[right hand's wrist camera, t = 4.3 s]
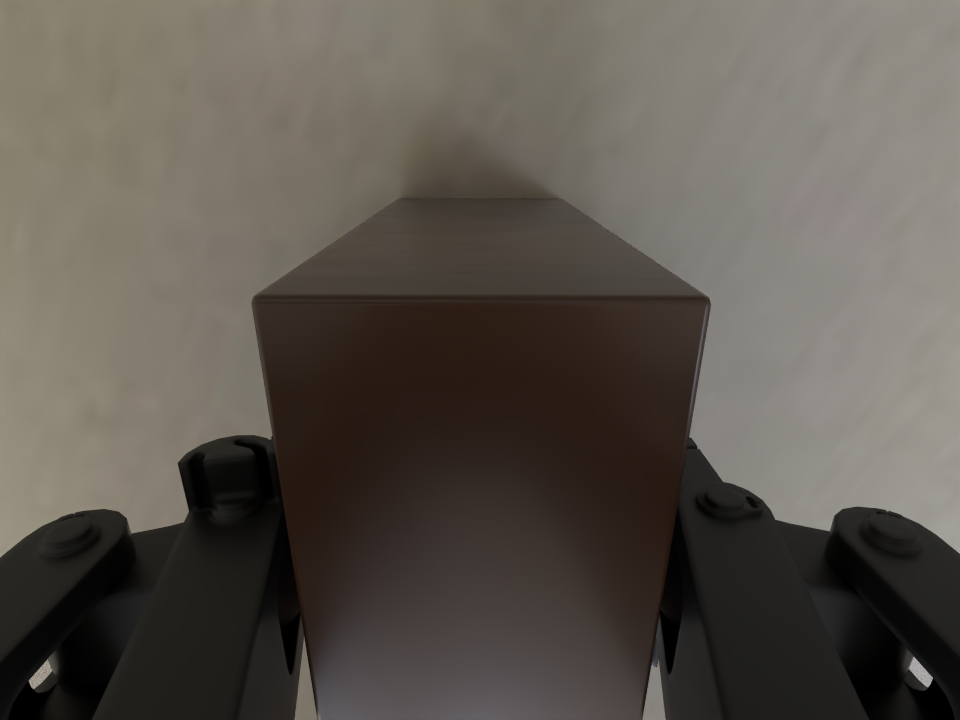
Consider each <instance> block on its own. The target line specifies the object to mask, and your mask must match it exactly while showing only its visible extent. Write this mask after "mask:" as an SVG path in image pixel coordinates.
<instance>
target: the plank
mask: <svg viewBox="0 0 960 720" xmlns="http://www.w3.org/2000/svg"><path fill="white" fill-rule="evenodd" d="M710 307H711V303H710V299H709V297H707V296H706V295H704V294H703V293H701V292H700V291H699V290H697V289H696V288H694V287H693V286H691V285H690V284H688V283H687V282H685V281H684V280H682V279H681V278H679V277H678V276H676V275H675V274H673V273H672V272H670V271H669V270H667V269H666V268H664V267H663V266H661V265H660V264H658V263H657V262H655V261H654V260H652V259H651V258H649V257H648V256H646V255H645V254H643V253H642V252H640V251H639V250H637V249H636V248H634V247H633V246H631V245H630V244H628V243H627V242H625V241H624V240H622V239H621V238H619V237H618V236H616V235H615V234H613V233H612V232H610V231H609V230H607V229H606V228H604V227H603V226H602V225H600V224H599V223H597V222H596V221H594V220H593V219H591V218H590V217H588V216H587V215H585V214H584V213H582V212H581V211H579V210H578V209H576V208H575V207H573V206H572V205H570V204H569V203H567V202H566V201H564V200H562V199H398V200H396V201H395V202H393V203H392V204H390V205H389V206H387V207H386V208H384V209H383V210H381V211H380V212H378V213H377V214H375V215H374V216H372V217H371V218H369V219H368V220H366V221H365V222H363V223H362V224H360V225H359V226H357V227H356V228H354V229H353V230H352V231H350V232H349V233H347V234H346V235H344V236H343V237H341V238H340V239H338V240H337V241H335V242H334V243H332V244H331V245H329V246H328V247H326V248H325V249H323V250H322V251H320V252H319V253H317V254H316V255H314V256H313V257H311V258H310V259H308V260H307V261H305V262H304V263H302V264H301V265H299V266H298V267H297V268H295V269H294V270H292V271H291V272H289V273H288V274H286V275H285V276H283V277H282V278H280V279H279V280H277V281H276V282H274V283H273V284H271V285H270V286H268V287H267V288H265V289H264V290H262V291H261V292H259V293H258V294H256V295H255V296H253V300H252V309H253V315H254V321H255V328H256V334H257V340H258V347H259V353H260V359H261V366H262V372H263V378H264V385H265V391H266V397H267V404H268V410H269V416H270V422H271V429H272V435H273V441H274V448H275V454H276V460H277V467H278V473H279V479H280V486H281V492H282V498H283V505H284V511H285V517H286V523H287V530H288V536H289V542H290V549H291V555H292V561H293V568H294V574H295V580H296V587H297V593H298V599H299V606H300V612H301V618H302V625H303V631H304V637H305V643H306V650H307V656H308V662H309V669H310V675H311V681H312V688H313V694H314V700H315V707H316V713H317V719H318V720H642V717H643V711H644V705H645V699H646V693H647V687H648V681H649V675H650V669H651V663H652V657H653V651H654V645H655V639H656V633H657V627H658V621H659V615H660V609H661V603H662V597H663V591H664V585H665V579H666V573H667V567H668V561H669V555H670V548H671V542H672V536H673V530H674V524H675V518H676V512H677V506H678V500H679V494H680V488H681V482H682V476H683V470H684V464H685V458H686V452H687V446H688V440H689V434H690V428H691V422H692V416H693V410H694V404H695V398H696V392H697V386H698V379H699V373H700V367H701V361H702V355H703V349H704V343H705V337H706V331H707V325H708V319H709V313H710Z"/></svg>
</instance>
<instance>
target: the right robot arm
mask: <svg viewBox="0 0 960 720" xmlns="http://www.w3.org/2000/svg"><path fill="white" fill-rule="evenodd" d="M271 438H272V439H271V440H268V439H267V438H263V437H259V436H255V435H237V436H231V437H226V438H220V439H217V440H214V441H211V442H208V443H205V444H202V445H200V446H198V447H197V448H195V449H193V450H192V451H190V452H188V453H187V454H186V455H185V456H184V457H183V458H182V459H181V460H180V461H179V462H178V466H179V471H180V475H181V479H182V483H183V487H184V492H185V496H186V500H187V504H188V508H189V513H188V515H187V517H186V519H185V522H184V523H180V524H176V525H173V526H168V527H163V528H158V529H153V530H148V531H143V532H138V533H133V534H131V532H130V528H129V525H128V521H127V518H126V517H124V516H123V515H122V514H121V513H120V512H118V511H112V510H106V509H100V510H89V511H81V512H76V513H75V514H73V513H72V514H69V515H66V516H63V517H60V518H59V519H57V520H55V521H53V522H51V523H48V524H46V525H44V526H42V527H40V528H39V529H37V530H36V531H34V532H33V533H31V534H30V535H28V536H27V537H25V538H24V539H23V540H21V541H20V542H19V543H18V544H16V545H15V546H14V547H13V548H12V549H10V550H9V551H8V552H7V553H5V554H4V555H3V556H2V557H1V558H0V720H294V718H295V709H296V701H297V692H298V683H299V675H300V666H301V657H302V649H303V640H304V631H303V625H302V618H301V612H300V606H299V599H298V593H297V587H296V580H295V574H294V568H293V561H292V555H291V549H290V542H289V536H288V530H287V523H286V517H285V511H284V505H283V498H282V492H281V486H280V479H279V473H278V467H277V460H276V454H275V448H274V441H273V436H272V437H271ZM913 657H915V658H916V659H917V660H918V661H919V663H920V664H921V665H922V666H923V667H924V668H925V669H926V670H927V672H928V673H929V674H930V675H931V676H932V677H933V680H932V682H931V684H930V686H929V687H926V686H925V685H923V684H922V683H921V682H920V681H919V680H918V679H917V678H916V677H915V676H914V674H913V673H912V672H911V671H910V670H909V667H910V664H911V662H912V659H913ZM47 659H48V661H49V663H50V666H51V668H52V672H51V673H50V674H49V676H48V677H47V678H46V679H45V680H44V681H43V682H42V683H41V684H40V685H39V686H37V687H36V688H35V689H32V688H31V686H30V684H29V680H30V678H31V677H32V676H33V675H34V674H35V673H36V672H37V670H38V669H39V668H40V667H41V666H42V665H43V664H44V663H45V661H46V660H47ZM658 660H659V665H660V673H661V682H662V691H663V699H664V708H665V717H666V720H960V554H959V553H958V552H957V551H956V550H954V549H953V548H952V547H951V546H949V545H948V544H947V543H946V542H944V541H943V540H942V539H941V538H940V537H938V536H937V535H936V534H934V533H933V532H931V531H929V530H928V529H926V528H925V527H923V526H922V525H920V524H919V523H916V522H914V521H912V520H910V519H907V518H905V517H903V516H902V515H900V514H897V513H894V512H891V511H888V512H887V511H886V510H882V509H877V508H866V507H852V508H847V509H842V510H841V511H840V512H838V513H837V514H836V515H835V516H834V519H833V522H832V526H831V529H830V531H825V530H820V529H814V528H809V527H804V526H799V525H794V524H789V523H786V522H782V521H778V520H775V518H774V516H773V514H772V512H771V510H770V509H769V508H768V506H767V505H766V504H765V503H764V501H763V500H762V499H760V498H759V497H757V496H756V495H754V494H753V493H751V492H750V491H748V490H746V489H743V488H741V487H738V486H736V485H733V484H730V483H725V482H723V481H722V480H721V479H720V477H719V476H718V474H717V473H716V472H715V470H714V469H713V467H712V466H711V465H710V463H709V462H708V461H707V459H706V458H705V456H704V455H703V454H702V452H701V451H700V449H697V445H696V444H695V443H694V441H693V440H692V438H689V440H688V446H687V452H686V458H685V464H684V470H683V476H682V482H681V488H680V494H679V500H678V506H677V512H676V518H675V524H674V530H673V536H672V542H671V548H670V555H669V561H668V567H667V573H666V579H665V585H664V591H663V597H662V603H661V609H660V615H659V621H658V627H657V633H656V639H655V645H654V651H653V657H652V663H651V666H654V667H657V665H658Z"/></svg>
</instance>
